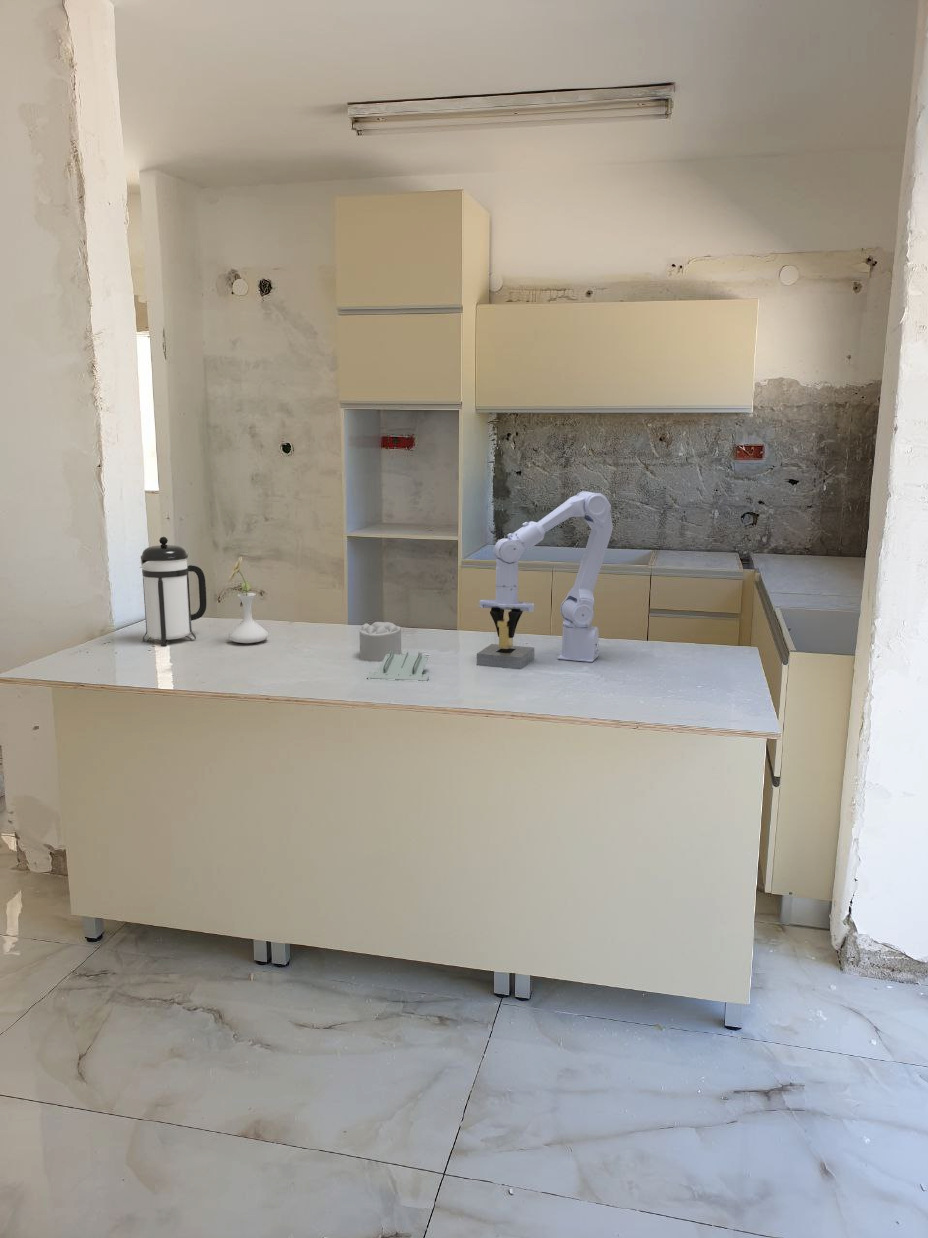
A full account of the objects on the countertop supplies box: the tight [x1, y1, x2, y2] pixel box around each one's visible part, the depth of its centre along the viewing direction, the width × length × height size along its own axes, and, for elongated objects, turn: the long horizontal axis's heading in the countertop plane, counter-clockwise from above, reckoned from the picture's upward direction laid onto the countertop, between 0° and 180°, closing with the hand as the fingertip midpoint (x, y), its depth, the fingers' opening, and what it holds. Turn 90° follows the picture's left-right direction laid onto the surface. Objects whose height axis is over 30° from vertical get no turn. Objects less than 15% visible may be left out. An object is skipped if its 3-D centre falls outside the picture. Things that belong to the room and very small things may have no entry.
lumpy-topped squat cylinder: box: [359, 621, 402, 662], centre depth 249 cm, size 10×13×9 cm
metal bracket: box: [366, 650, 430, 682], centre depth 231 cm, size 14×6×15 cm
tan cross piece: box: [497, 615, 514, 649], centre depth 242 cm, size 2×7×8 cm, turn 159°
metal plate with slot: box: [476, 643, 535, 670], centre depth 243 cm, size 12×12×3 cm
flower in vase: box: [227, 556, 269, 644], centre depth 263 cm, size 13×11×25 cm
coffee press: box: [138, 536, 207, 647], centre depth 265 cm, size 17×16×30 cm
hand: (505, 636), depth 242 cm, fingers closed on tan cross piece, 2 cm apart
